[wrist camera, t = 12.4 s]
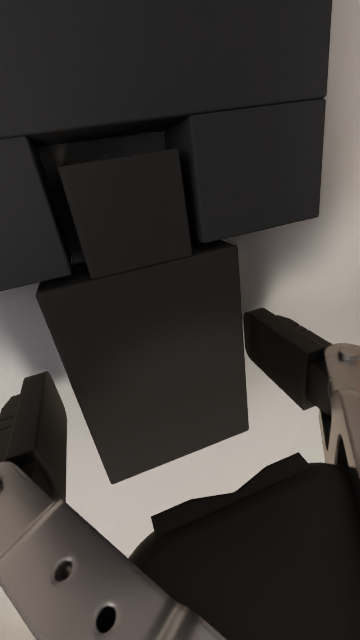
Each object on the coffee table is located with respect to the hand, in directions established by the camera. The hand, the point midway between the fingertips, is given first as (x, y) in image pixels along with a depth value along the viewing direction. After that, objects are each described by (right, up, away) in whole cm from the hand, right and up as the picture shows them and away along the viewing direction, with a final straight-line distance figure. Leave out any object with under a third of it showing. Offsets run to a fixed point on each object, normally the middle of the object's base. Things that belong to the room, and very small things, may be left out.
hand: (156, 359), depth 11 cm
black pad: (-1, +2, 0) cm, 2 cm away
